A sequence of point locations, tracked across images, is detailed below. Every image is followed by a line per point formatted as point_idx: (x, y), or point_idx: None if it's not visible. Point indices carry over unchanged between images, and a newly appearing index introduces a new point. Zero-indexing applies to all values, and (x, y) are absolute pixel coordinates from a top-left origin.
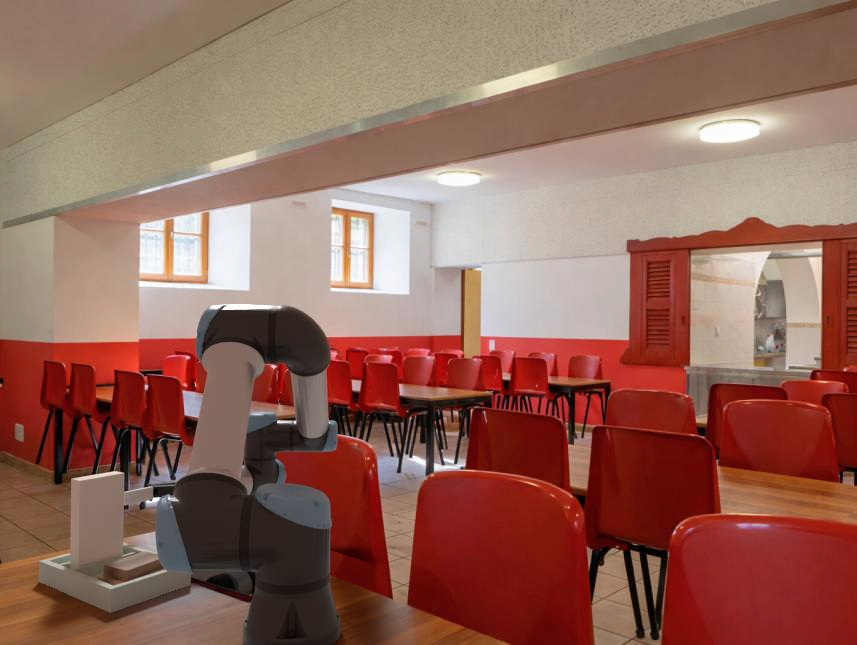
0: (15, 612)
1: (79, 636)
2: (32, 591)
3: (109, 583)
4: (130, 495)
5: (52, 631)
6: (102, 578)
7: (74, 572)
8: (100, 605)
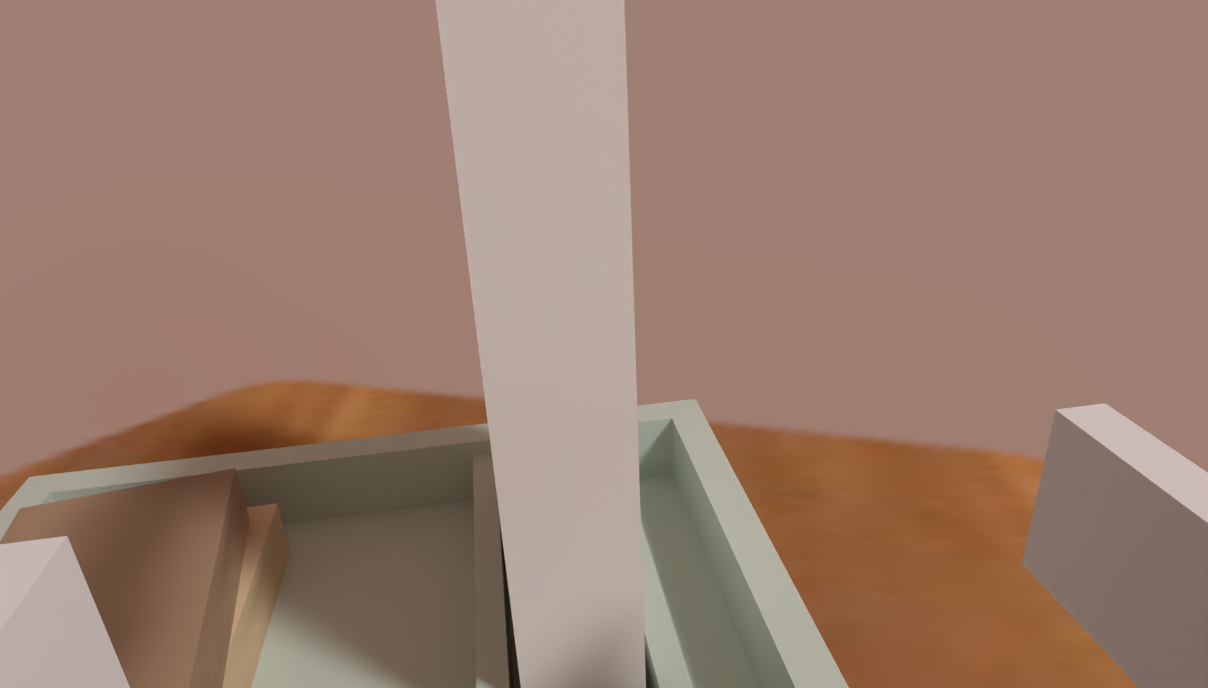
0: (430, 405)
1: (38, 465)
2: None
3: None
4: (1104, 510)
5: (169, 434)
6: None
7: (396, 442)
8: None
